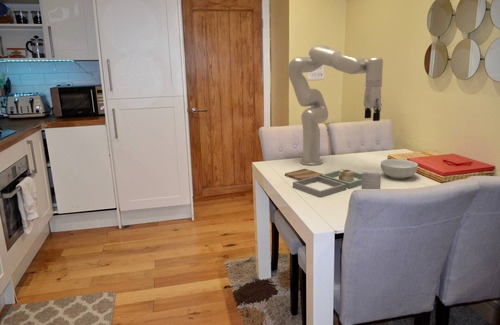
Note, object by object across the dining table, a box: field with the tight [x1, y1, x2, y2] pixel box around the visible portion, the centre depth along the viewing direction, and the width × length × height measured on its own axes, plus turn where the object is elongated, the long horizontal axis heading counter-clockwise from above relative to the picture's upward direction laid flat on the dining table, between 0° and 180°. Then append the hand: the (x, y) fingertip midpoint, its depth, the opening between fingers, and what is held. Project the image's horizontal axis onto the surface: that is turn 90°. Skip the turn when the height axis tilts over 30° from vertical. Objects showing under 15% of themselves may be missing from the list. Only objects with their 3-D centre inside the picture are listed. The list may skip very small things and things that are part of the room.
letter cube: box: [338, 168, 355, 182], centre depth 180 cm, size 5×5×5 cm
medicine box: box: [361, 170, 382, 190], centre depth 164 cm, size 8×4×9 cm, turn 71°
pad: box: [284, 168, 323, 181], centre depth 190 cm, size 14×14×1 cm
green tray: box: [321, 168, 362, 189], centre depth 180 cm, size 18×16×2 cm
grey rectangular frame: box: [292, 176, 347, 198], centre depth 170 cm, size 18×16×2 cm
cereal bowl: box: [380, 158, 419, 180], centre depth 182 cm, size 17×17×7 cm
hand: (371, 119), depth 184 cm, fingers open, 9 cm apart
